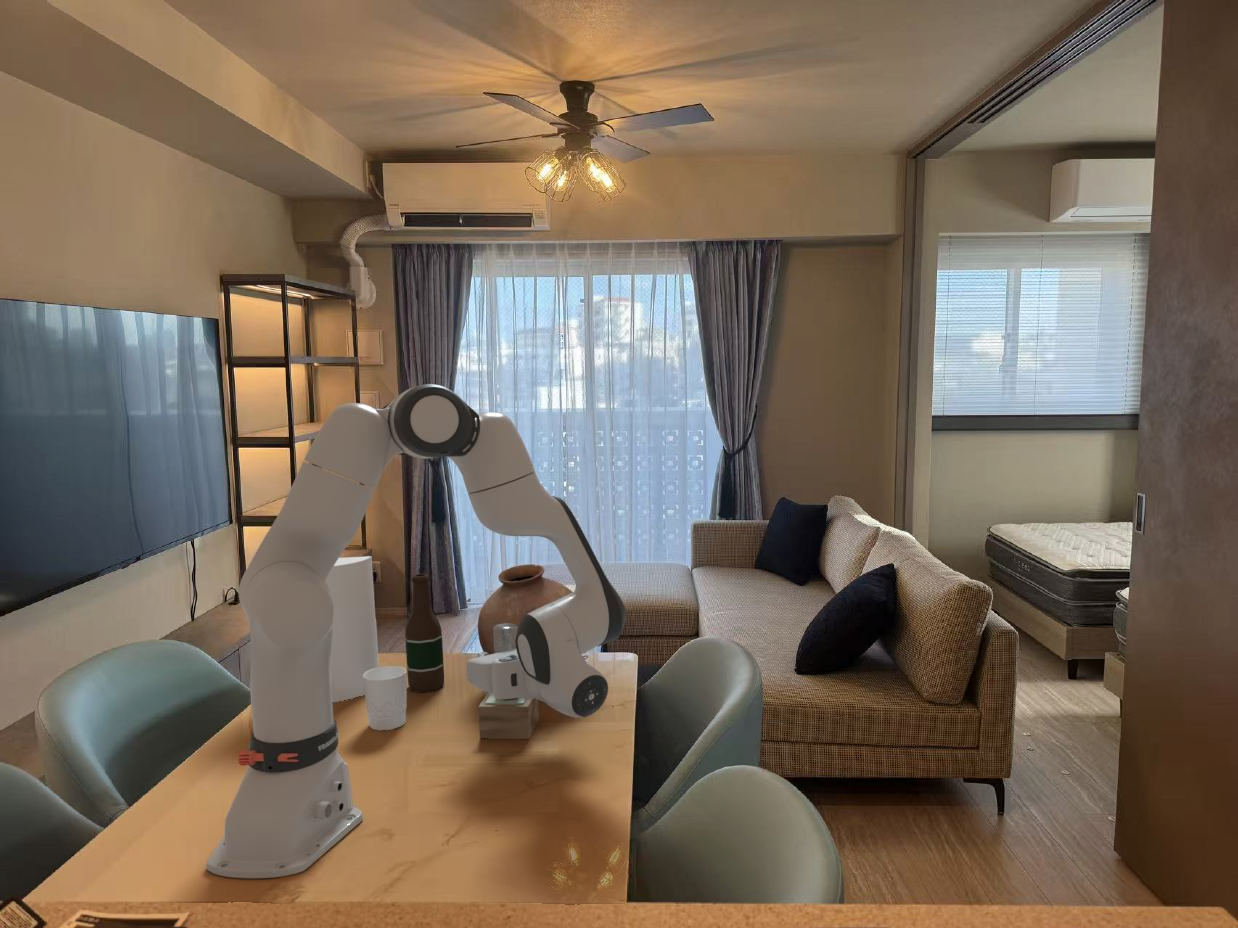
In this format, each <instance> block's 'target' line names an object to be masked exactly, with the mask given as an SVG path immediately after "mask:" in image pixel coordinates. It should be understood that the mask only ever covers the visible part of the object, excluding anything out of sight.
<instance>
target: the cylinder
mask: <svg viewBox="0 0 1238 928" xmlns="http://www.w3.org/2000/svg"><path fill="white" fill-rule="evenodd" d="M373 572H374V571H373V556H372V555H371V556H370V555H367V556H352V557H339V558H338V560H337V561H336V563H335V564H334V566H333V568H332V569H331V571H330V572H329V574H328V576H327V578H326V580H325V583H326V584H327V585H328V587H329V589H330V591H331V594H332V598H333V604H334V616H333V637H332V652H331V664H330V675H331V691H332V703H339V701H341V702H345V701H344V700H346V701H348V700H347V699H351V700H354V699H353V698H355V697H358V696H361V697H364V696H365V689H364V680H363V674H364V673H365V672H367V671H369V670H371V669H374V668H378V667H380V663H379V662H380V661H379V649H378V647H379V646H378V645H379V644H378V630H377V619H376V606H375V604H376V603H375V602H376V601H375V588H374V587H375V585H374V574H373ZM363 695H364V696H363ZM358 698H359V697H358ZM355 699H356V698H355Z"/></svg>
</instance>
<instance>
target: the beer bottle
mask: <svg viewBox="0 0 1238 928" xmlns="http://www.w3.org/2000/svg"><path fill="white" fill-rule="evenodd" d="M429 581H430V577H429V575H428V573H417V574H414V575H412V577H411V583H412V611H411V614H410V616H409V617H408V619H407V621H406V625H405V627H404V628H405V629H404V630H405V631H404V634H405V635H404V636H405V637H404V639H405V655H406V677H407V684H408V687H409V689H410V691H411V692H415V691H418V692H417V693H427V692H426V691H429V692H435V691H438V690H439V689H440V687H441V688H442V687H444V686H445V668H444V667H445V666H444V650H443V649H444V648H443V634H442V632H443V631H442V626H441V624H440V622H439V619H438V618H437V616H436V615H435V614H434V613H433V609H432V601H431V595H430V594H431V593H430V585H429ZM438 688H439V689H438ZM434 690H435V691H434Z"/></svg>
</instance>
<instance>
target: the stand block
mask: <svg viewBox="0 0 1238 928" xmlns="http://www.w3.org/2000/svg"><path fill="white" fill-rule="evenodd" d="M477 708H478V722H479V725H478V726H479V739H480V738H486V740H530V739H531V737H532V735H533V733H534V731H535V728H536V726H537V724H538V723H539V721H540V717H539V714H540V712H539V700H538V699H536V698H535V699H527V698H516V699H513V700H498V699H496V698H495V697H494V695H493V692H487V693H486V695H485V696H484V698H483V700H482V701H481V702H480V703H479V705H478V707H477ZM487 738H488V739H487Z"/></svg>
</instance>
